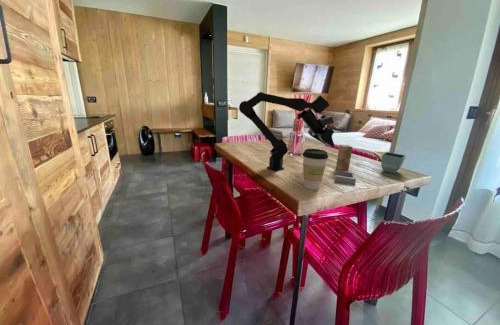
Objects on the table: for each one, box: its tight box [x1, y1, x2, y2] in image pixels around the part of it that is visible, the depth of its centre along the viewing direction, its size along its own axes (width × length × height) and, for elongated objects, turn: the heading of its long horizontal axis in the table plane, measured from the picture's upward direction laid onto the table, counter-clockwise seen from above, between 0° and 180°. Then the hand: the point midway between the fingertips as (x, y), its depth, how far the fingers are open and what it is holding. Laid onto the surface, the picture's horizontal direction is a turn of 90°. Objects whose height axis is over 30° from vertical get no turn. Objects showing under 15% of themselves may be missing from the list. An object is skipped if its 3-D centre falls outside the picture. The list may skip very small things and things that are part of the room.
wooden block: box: [335, 144, 353, 172], centre depth 109 cm, size 4×4×13 cm
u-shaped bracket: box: [334, 169, 357, 185], centre depth 98 cm, size 8×9×2 cm
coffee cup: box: [302, 148, 329, 191], centre depth 87 cm, size 10×10×15 cm
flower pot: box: [381, 151, 406, 174], centre depth 110 cm, size 9×9×9 cm
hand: (329, 145), depth 107 cm, fingers open, 9 cm apart
